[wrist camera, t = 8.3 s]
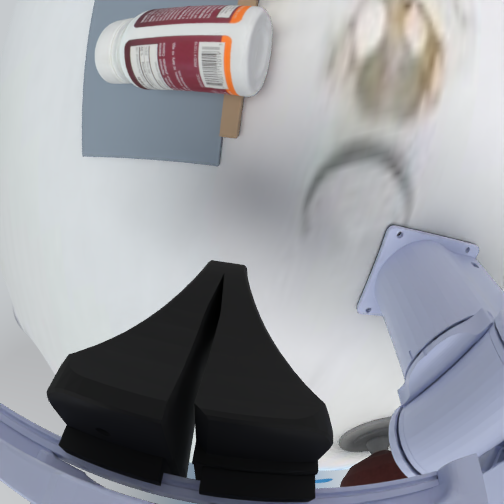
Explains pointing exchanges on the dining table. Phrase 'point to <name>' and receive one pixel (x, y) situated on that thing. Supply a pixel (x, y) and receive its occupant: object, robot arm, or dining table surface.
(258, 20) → the pill bottle
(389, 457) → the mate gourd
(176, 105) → the slate mat
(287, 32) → the dining table surface
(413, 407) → the robot arm
